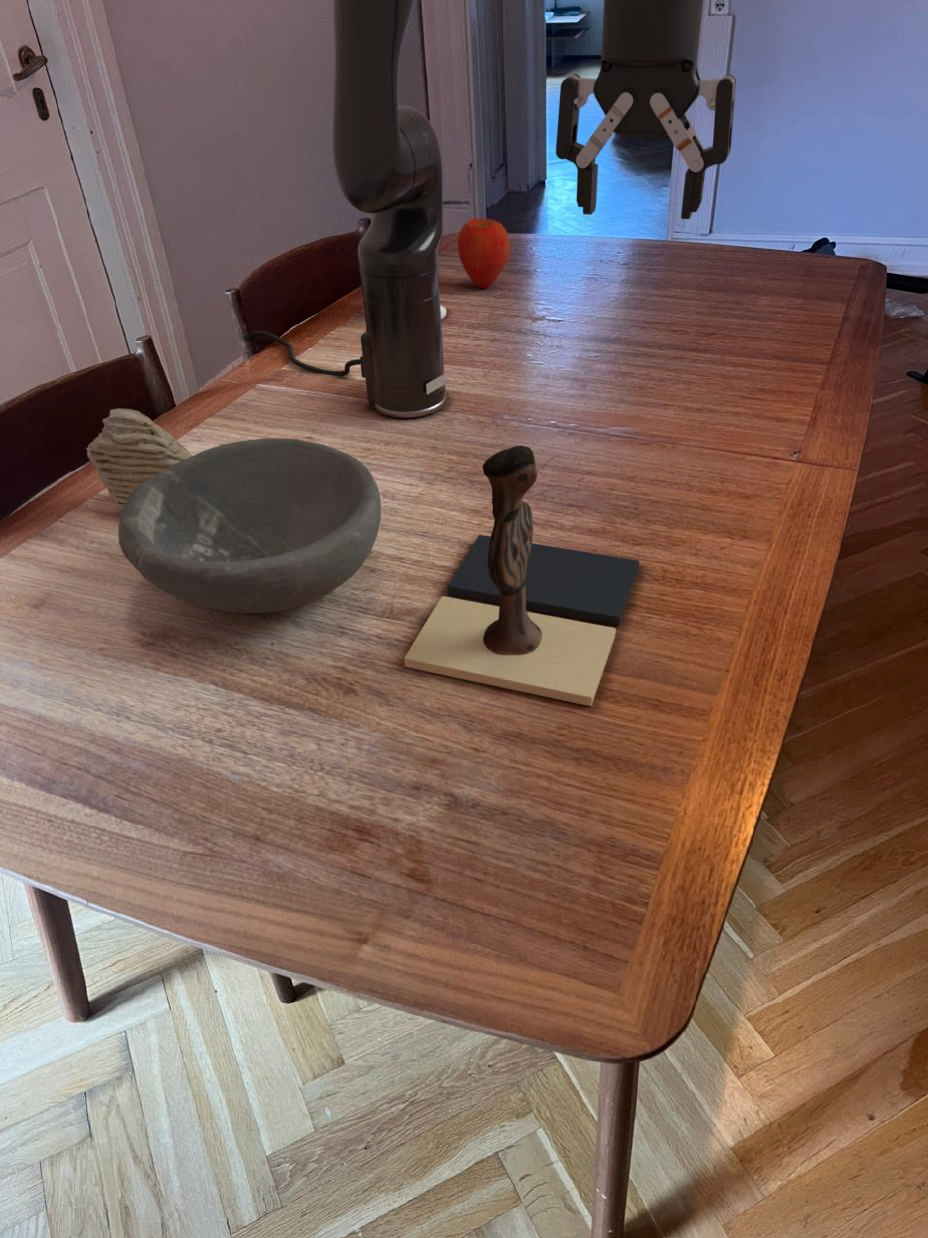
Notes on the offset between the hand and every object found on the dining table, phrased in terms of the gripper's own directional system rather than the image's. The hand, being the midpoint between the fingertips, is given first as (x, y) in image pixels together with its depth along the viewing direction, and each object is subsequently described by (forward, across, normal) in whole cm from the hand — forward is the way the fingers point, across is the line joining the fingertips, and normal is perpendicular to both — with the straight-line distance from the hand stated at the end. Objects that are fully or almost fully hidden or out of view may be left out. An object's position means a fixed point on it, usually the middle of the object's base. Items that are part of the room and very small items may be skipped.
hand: (636, 214), depth 77 cm
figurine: (+27, +3, +28) cm, 39 cm away
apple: (+28, +35, -60) cm, 75 cm away
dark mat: (+28, +3, +18) cm, 33 cm away
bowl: (+28, +28, +25) cm, 47 cm away
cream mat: (+28, +3, +28) cm, 40 cm away
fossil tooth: (+28, +46, +16) cm, 56 cm away
